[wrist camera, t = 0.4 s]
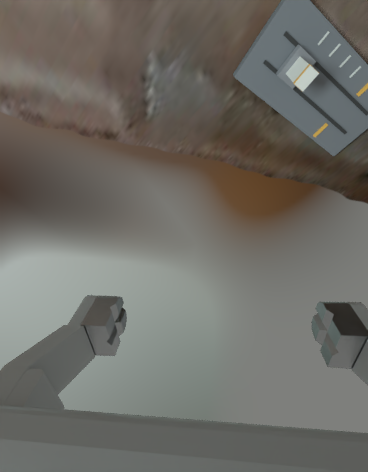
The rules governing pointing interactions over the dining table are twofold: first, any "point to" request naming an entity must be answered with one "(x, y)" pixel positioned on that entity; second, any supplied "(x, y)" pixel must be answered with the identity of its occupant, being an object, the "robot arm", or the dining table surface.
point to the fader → (298, 69)
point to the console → (322, 87)
